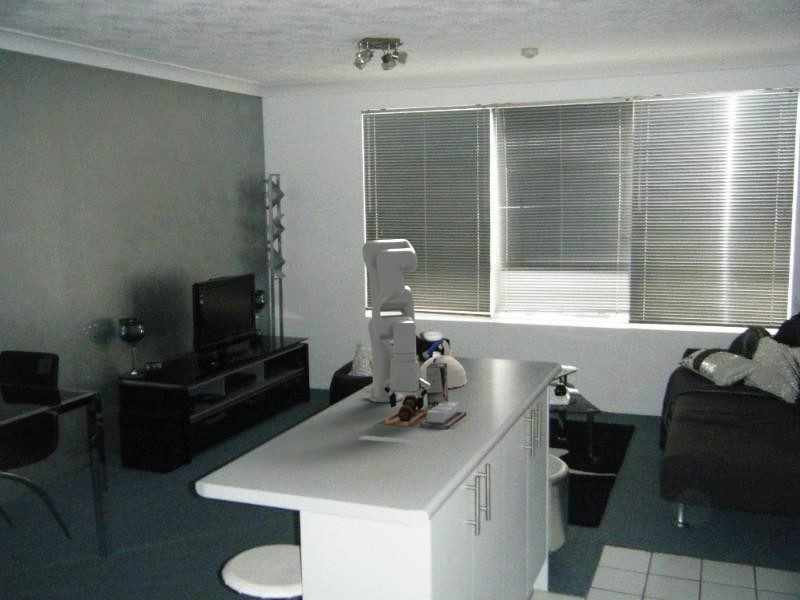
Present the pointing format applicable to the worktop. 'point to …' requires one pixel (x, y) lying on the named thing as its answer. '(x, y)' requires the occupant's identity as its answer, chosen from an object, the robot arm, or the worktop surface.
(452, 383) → the kettle
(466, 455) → the worktop surface
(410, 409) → the bolt
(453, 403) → the bar
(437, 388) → the coffee box
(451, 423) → the wooden tray
